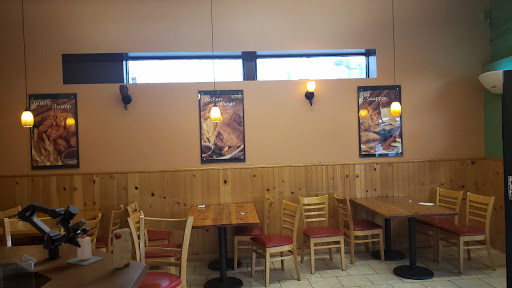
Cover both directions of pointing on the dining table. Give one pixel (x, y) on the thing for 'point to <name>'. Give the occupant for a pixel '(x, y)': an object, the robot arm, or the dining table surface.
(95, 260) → the placemat
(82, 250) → the big red button box
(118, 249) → the food model
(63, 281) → the dining table surface
